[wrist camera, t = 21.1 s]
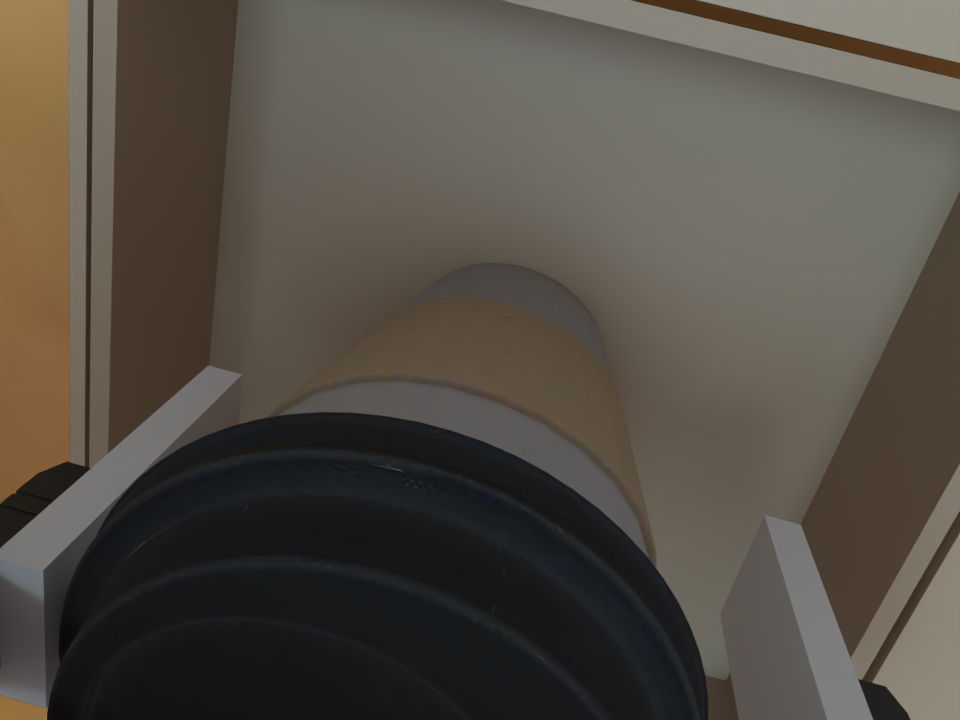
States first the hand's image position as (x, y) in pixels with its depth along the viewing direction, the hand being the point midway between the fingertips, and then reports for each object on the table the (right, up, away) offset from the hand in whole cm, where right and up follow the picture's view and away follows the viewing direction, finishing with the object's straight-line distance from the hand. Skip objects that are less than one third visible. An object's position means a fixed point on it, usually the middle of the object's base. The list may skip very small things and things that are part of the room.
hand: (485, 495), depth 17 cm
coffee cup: (+1, +3, +7) cm, 7 cm away
